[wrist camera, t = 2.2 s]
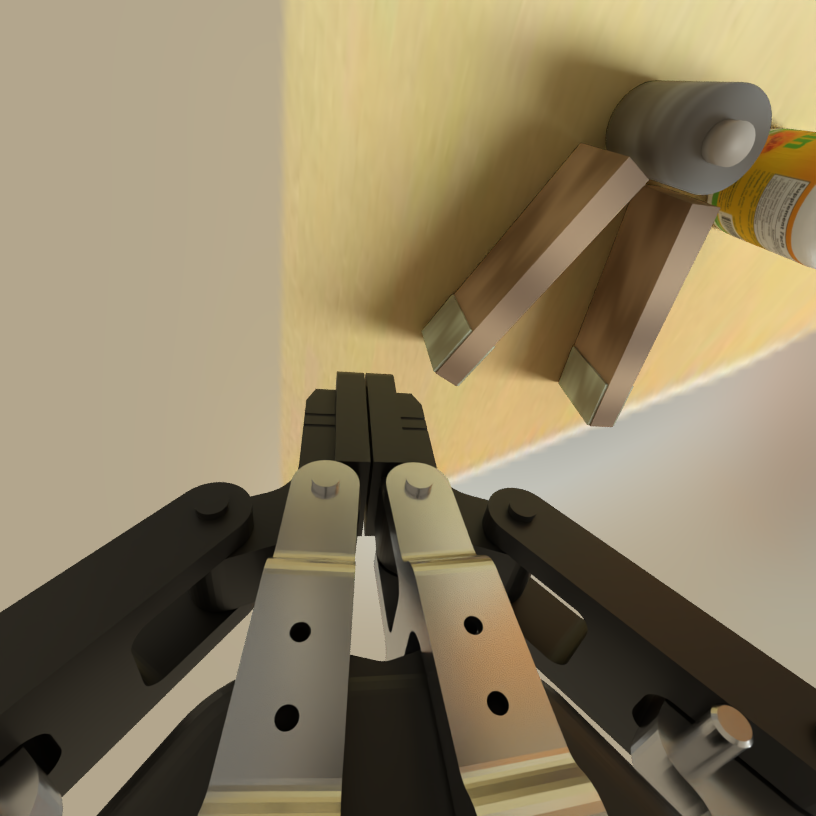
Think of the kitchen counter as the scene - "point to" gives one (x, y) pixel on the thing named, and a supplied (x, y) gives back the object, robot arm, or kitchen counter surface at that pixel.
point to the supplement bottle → (775, 198)
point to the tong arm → (530, 257)
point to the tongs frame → (659, 224)
